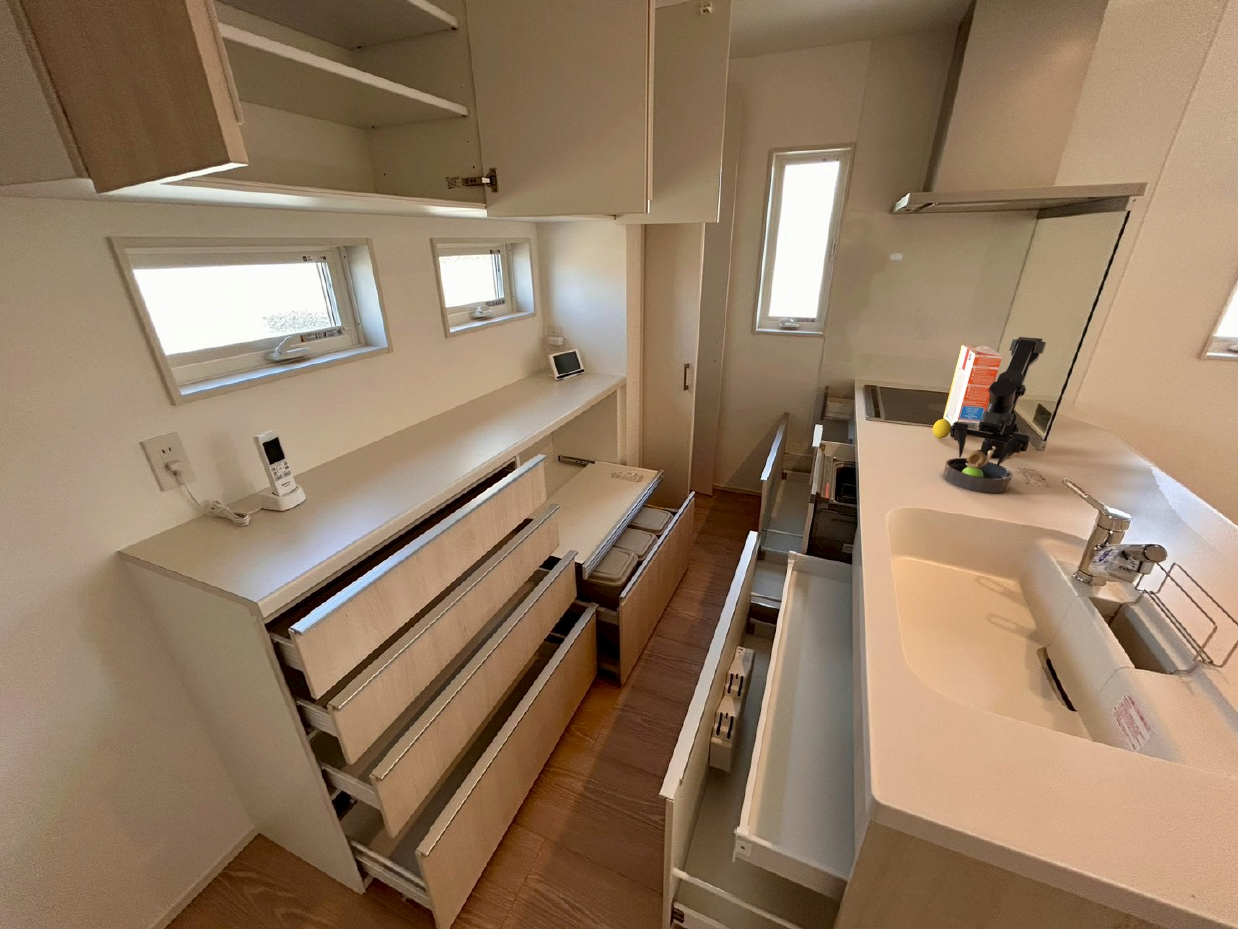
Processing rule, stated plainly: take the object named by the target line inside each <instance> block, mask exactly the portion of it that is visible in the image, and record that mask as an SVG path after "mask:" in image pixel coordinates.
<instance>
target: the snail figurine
mask: <svg viewBox="0 0 1238 929" xmlns="http://www.w3.org/2000/svg"><path fill="white" fill-rule="evenodd" d="M992 448H994V449H996V447H994V446H993V447H992ZM993 454H994V451H993V450H990V451H988V454H987V456H986V455H984V453H982V452H980V451H977V450H974V451H971V452H969V453H968V454H967V456H966V458H967V461H968V463H966V465H967V466H968V467H967V468H965V469H964V470H963V471H962V473H965V474H968V475H972V476H976V477H982V478H983V476H984V475H983V472H982V471H981V470H980V469H979V468H980V467H983V466H985V465H986V464H987V463H988V462H990V460H991V459H992V458H991V456H992V455H993Z"/></svg>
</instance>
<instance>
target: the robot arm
mask: <svg viewBox="0 0 1238 929" xmlns="http://www.w3.org/2000/svg"><path fill="white" fill-rule="evenodd" d="M1046 345H1047V342H1046V341H1043V338H1041V337H1040V338H1039V337H1029V336H1027V337H1026V336H1019V337H1018V338H1015V339H1012V340H1011V343H1010V347H1009V351H1010V352H1011V353H1010V355H1011V358H1010V361H1009V363H1008V365H1007V368H1006V370H1005V371H1003V372H1001V373H998V375H997V377H996V380H995V381H994V382H993V383H992V384H991V386H990V387H989V393H990V396H989V404H988V407H987V410H986V411H984V412H983V415H982V418H981V420H980V423H979V425H978V427H979V430H975V429H970V428H968V426H969V424H968V423H962V422H957V421H955V422H953V423H952V425H951V427H950V433H949V437H950V438H953V440H954V441H955V442H957V444H958V458H962V456H963V453H964V450H965V445H966V441H967V437H968V436H967V435H971V436H970V437H976V438H982V439H984V440H983V441H982V444H981V446H980V449H977V450H976V451H980V452H982V453H984V455H985V457H986V456H987V454H988V451H990V450H993V451H994V454H993V455H992V456H991V458H990V459H998V461H997V463H996V464H997V466H999V465H1000V466H1001V464H1002V463H1003V462H1005V460H1007V459H1009V458H1010V456H1011V457H1012V456H1013V455H1014V454H1020V453H1021V452H1022V453H1025V452H1027V450H1028V447H1029V445H1030V442H1031V436H1030V434H1028V433H1023V432H1019V430H1020V428H1019V425H1018V423H1017V421H1018V418H1017V415H1016V412H1015V410H1016V406H1017V403H1018V401H1019V398H1022V397H1023V396H1024V395H1026V392H1027V387H1026V385H1025V384H1024V383H1025V380H1026V377H1027V374H1028V373H1029V372H1028V371H1029V369H1030V367H1031V366H1032V365H1033V364H1035V363H1036V362H1037V361H1038V360H1039V358H1040V355H1043V354H1044V352H1045V349H1046ZM993 446H994V447H996V449H994V448H992V447H993Z"/></svg>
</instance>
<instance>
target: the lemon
mask: <svg viewBox="0 0 1238 929" xmlns="http://www.w3.org/2000/svg"><path fill="white" fill-rule="evenodd" d="M950 427H951V424H950V422H949V421H948V420H946V419H944V418H941V419H938V420H937V421H935V423H934V424H933V426H932V434H933V436H934V437H936V438H937V440H942V439H945V438H947V437H948V436H950Z"/></svg>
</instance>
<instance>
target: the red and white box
mask: <svg viewBox="0 0 1238 929" xmlns="http://www.w3.org/2000/svg"><path fill="white" fill-rule="evenodd" d="M1002 359H1003V355H1002V354H1001V353H999V352H997V351H995V350H994V349H993V348H991V347H989V346H987V345H978V344H977V345H975V344H961V347H960V351H959V356H958V360H957V363H956V367H955V371H954V374H953V379H952V382H951V386H950V390H949V393H948V398H947V402H946V404H945V410H944V413H943V417H942V419H946V420H948V421H949V422H950V424H951V425H952V423H953V422H955V421H957V422H962V423H968V424H969V426H968V428H970V429H975V430H979V427H978V425H979V423H980V420H981V418H982V415H983V412H984V411H986V410H987V408H988V406H989V396H990V393H989V387H990V386H991V384H992V383H993V382H994V381H996V380H997V377H998V374H999V373H998V372H999V369H1000V365H1001V362H1002ZM968 436H969V437H972V436H971V435H967V436H966V437H968Z"/></svg>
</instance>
